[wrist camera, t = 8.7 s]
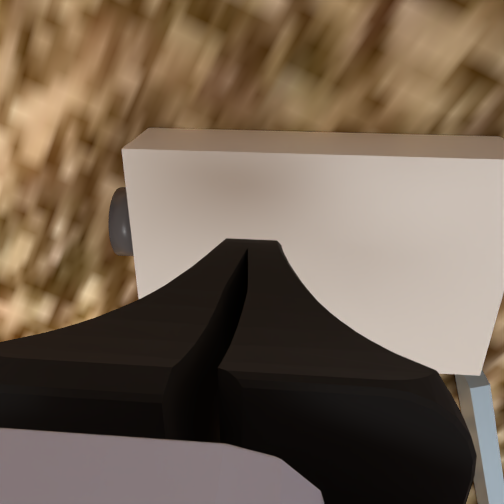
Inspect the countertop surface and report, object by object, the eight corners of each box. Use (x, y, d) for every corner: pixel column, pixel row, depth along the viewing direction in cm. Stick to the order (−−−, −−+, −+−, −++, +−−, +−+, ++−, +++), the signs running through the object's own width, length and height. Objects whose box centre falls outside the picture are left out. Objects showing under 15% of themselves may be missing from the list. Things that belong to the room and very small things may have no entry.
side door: (449, 344, 23) (470, 388, 20) (484, 337, 22) (510, 381, 20) (480, 521, 28) (500, 574, 25) (509, 517, 28) (532, 571, 25)
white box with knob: (499, 136, 19) (540, 160, 16) (454, 326, 23) (479, 376, 20) (125, 127, 20) (93, 147, 17) (145, 311, 24) (122, 355, 21)
